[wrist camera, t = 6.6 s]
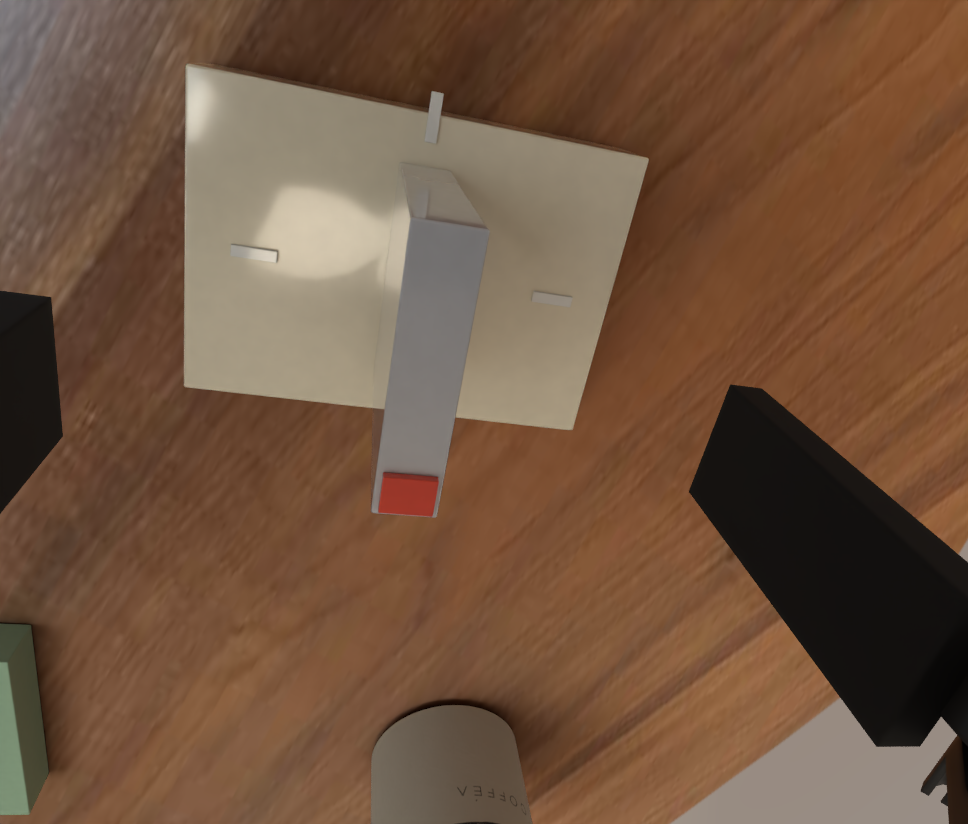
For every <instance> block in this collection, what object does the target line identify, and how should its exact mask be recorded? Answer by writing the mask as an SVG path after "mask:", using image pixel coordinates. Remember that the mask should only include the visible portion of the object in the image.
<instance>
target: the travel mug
mask: <svg viewBox="0 0 968 824" xmlns="http://www.w3.org/2000/svg"><path fill="white" fill-rule="evenodd" d="M371 824H532V819H531V814H530V809H529V804H528V799H527V794H526V789H525V784H524V780H523V775H522V770H521V765H520V760H519V755H518V750H517V745H516V740H515V736H514V734H513V732H512V730H511V728H510V727H509V725H508V724H507V723H506V722H505V721H504V720H503V719H501V718H500V717H499V716H497V715H495V714H493V713H491V712H489V711H487V710H484V709H481V708H477V707H472V706H464V705H446V706H438V707H433V708H428V709H425V710H421V711H418V712H416V713H413V714H411V715H409V716H407V717H405V718H403V719H401V720H400V721H398V722H396V723H395V724H394V725H392V726H391V727H390V728H389V729H388V730H387V731H386V732H385V733H384V734H383V735H382V736H381V737H380V739H379V740H378V742H377V743H376V745H375V747H374V750H373V753H372V767H371Z"/></svg>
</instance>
